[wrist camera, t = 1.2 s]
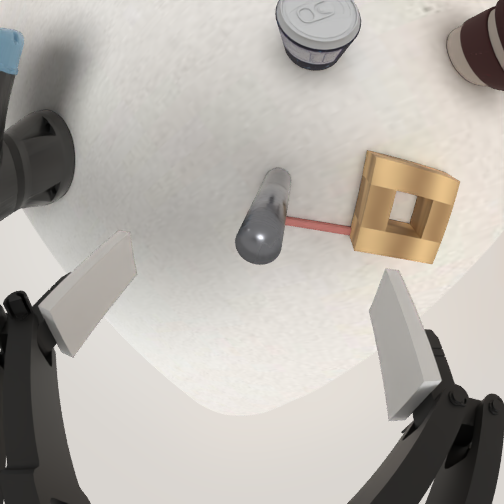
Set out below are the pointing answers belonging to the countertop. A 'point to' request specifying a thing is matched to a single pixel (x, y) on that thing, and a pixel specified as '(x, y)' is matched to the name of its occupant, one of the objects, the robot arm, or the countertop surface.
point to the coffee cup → (480, 48)
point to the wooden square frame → (381, 201)
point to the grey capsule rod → (265, 220)
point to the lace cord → (318, 225)
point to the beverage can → (317, 30)
